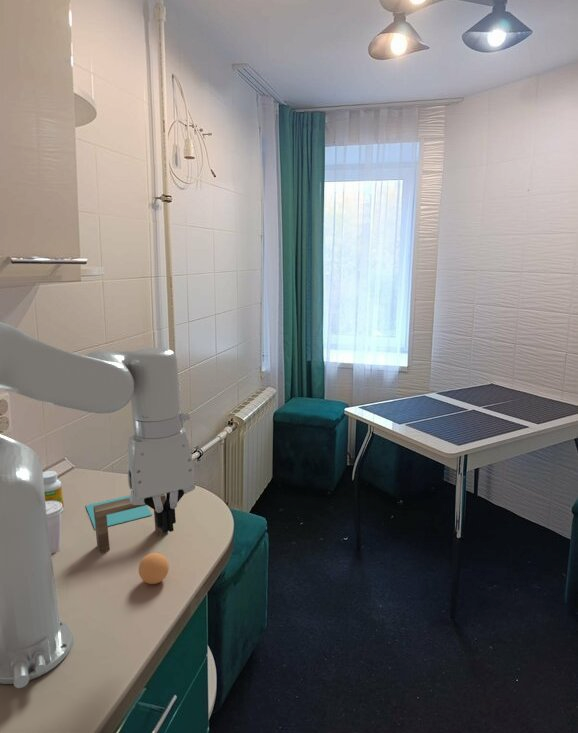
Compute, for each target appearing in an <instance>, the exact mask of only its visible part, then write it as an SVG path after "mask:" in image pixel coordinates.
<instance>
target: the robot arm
mask: <svg viewBox="0 0 578 733" xmlns="http://www.w3.org/2000/svg"><path fill="white" fill-rule="evenodd" d="M178 372H179V369H178V359H177V355H176V353H175V352H174V351H173V350H172V349H170V348H165V347H148V348H146V347H145V348H141V349H140V348H139V349H137V350H130V351H126V350H121V351H120V350H96V351H95V350H94V351H90V352H88V353H86V354H84V355H82V354H79V353H75V352H71V351H68V350H64V349H61V348H58V347H55V346H52V345H49V344H46V343H45V342H42V341H40V340H37V339H36V338H34V337H32V336H31V335H29V334H27V333H26V332H24V331H22V330H21V329H19V328H17V327H15V326H13V325H11V324H8V323H5V322H2V321H0V389H2V390H5V391H8V392H11V393H15V394H18V395H20V396H23V397H26V398H29V399H32V400H35V401H39V402H43V403H46V404H50V405H53V406H57V407H63V408H67V409H73V410H78V411H82V412H83V411H84V412H88V413H93V414H110V413H115V412H118V411H120V410H121V409H123V408H124V407H126V406H127V405H128V404H129V402H130V405H131V417H132V426H133V427H132V428H133V433H131V434H130V435H128V440H127V453H126V454H127V457H126V458H127V459H126V464H127V481H128V482H127V483H128V487H129V489H130V502H131V503H132V505H143V504H146V505H147V507H148V508H149V507H150V508H151V509H153V511H154V510H155V519H154V522H155V521H156V526H157V528H161V530H162V531H163V533H164V534H165V533H167V532H168V533H169V532H170V533H171V532H174V531H175V530H174V524H176V509H177V507H178V503H179V501H181V499H182V498H183V496H184V495H186V494H188V493H190V492H192V491H194V490H195V489H196V484H195V469H194V461H193V454H192V450H191V444H190V441H189V436H188V433H187V430H186V429H185V427H184V423H186V422H190V420H191V419H190V418H191V416H190V413H188V412H186V413H185V412H181V410H182V409H181V400H180V399H181V397H180V383H179V373H178ZM43 472H44V471H43V465H42V462H41V459H40V457H39V455H38V454H37V452H35V450H33V448H31V447H30V446H29V445H26V444H24V443H22V442H20V441H18V440H16V439H13V438H10V437H8V436H6V435H3V434H1V433H0V684H1V685H13V686H14V687H15V688H17V689H22V688H25V687H26V686H27V685H28V684H29V682H30V681H32V680H34V679H37V678H39V677H41V676H43V675H45V674H47V673H48V672H50V671H51V670H53V669H55V667H57V666H58V665H59V664H60V663H61V662H62V661H63V660H64V659H65V658H66V656H68V654H69V652H70V650H71V648H72V646H73V632H72V629H71V627H70V626H69V625H68V624H67V623H66V622H63V620H60V612H59V605H58V598H57V589H56V588H57V587H56V582H55V581H56V580H55V574H54V573H55V572H54V565H53V557H52V554H51V548H50V540H49V532H48V525H47V516H46V505H45V494H44V481H43ZM162 494H165V503H163V504H164V505H162V502H161V498H160V495H162ZM165 535H166V534H165Z"/></svg>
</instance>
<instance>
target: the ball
mask: <svg viewBox="0 0 578 733" xmlns="http://www.w3.org/2000/svg"><path fill="white" fill-rule="evenodd" d="M169 565H170V564H169V562H168V559H167V558H166V556H164V555H163V554H161V553H160V552H152V553H149V554H147V555H145V556H144V557H143V558H142V560H141V561H140V563H139V565H138V575H139V577H140V579H141V580H142V581H143V582H144V583H146V584H148V585H157V584H159V583H161V582H163V581H164V580H165V578H166V577H167V576H168V573H169V567H170V566H169Z"/></svg>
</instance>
